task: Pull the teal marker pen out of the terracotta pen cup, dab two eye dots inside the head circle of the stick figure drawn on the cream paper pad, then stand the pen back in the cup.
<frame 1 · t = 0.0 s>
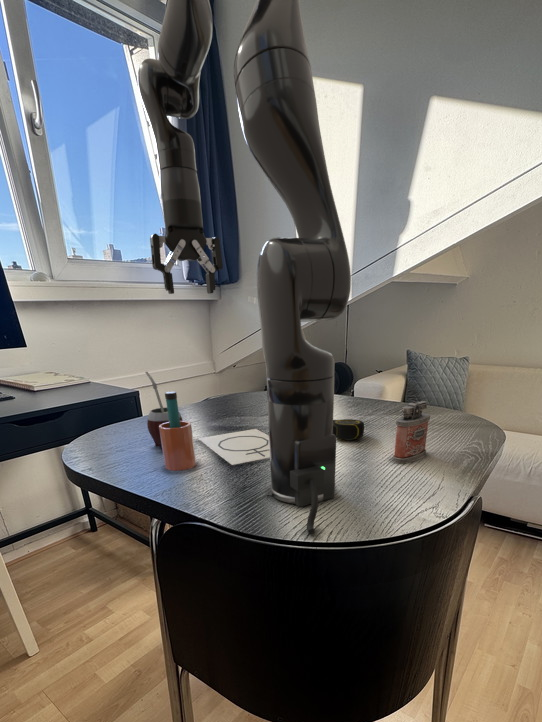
hand: (191, 293, 87), 29 cm above the table, tool pointing down, fingers open, 8 cm apart
pen cup: (181, 467, 74), on the table
mate gourd: (167, 448, 86), on the table
sketch pad: (245, 446, 85), on the table
tape measure: (345, 438, 89), on the table
lighter: (409, 458, 76), on the table
pen: (180, 465, 74), resting on pen cup
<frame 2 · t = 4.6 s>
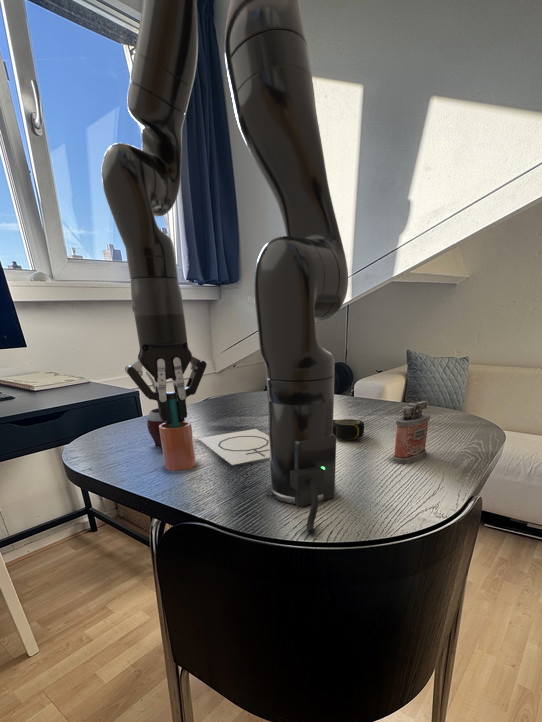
hand: (174, 421, 71), 9 cm above the table, tool pointing down, fingers closed on pen, 2 cm apart
pen: (180, 465, 74), point 1 cm above the table, touching gripper
everything else where it was.
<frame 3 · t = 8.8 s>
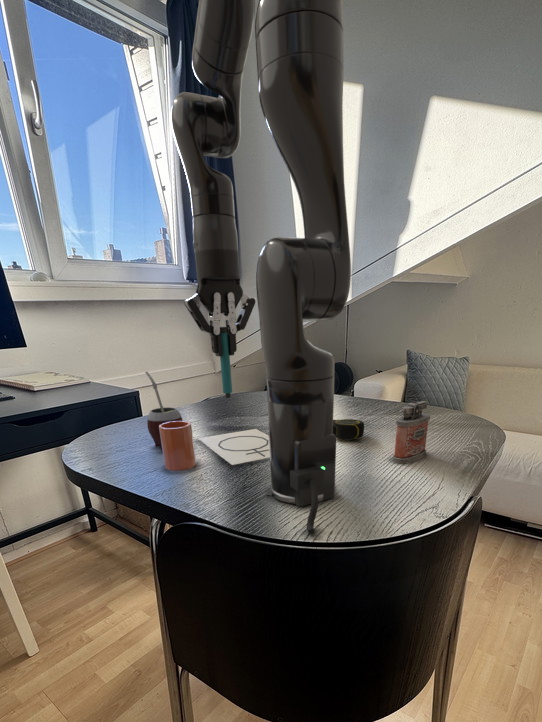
hand: (225, 355, 78), 18 cm above the table, tool pointing down, fingers closed on pen
pen: (228, 397, 81), point 10 cm above the table, touching gripper
everything else where it was.
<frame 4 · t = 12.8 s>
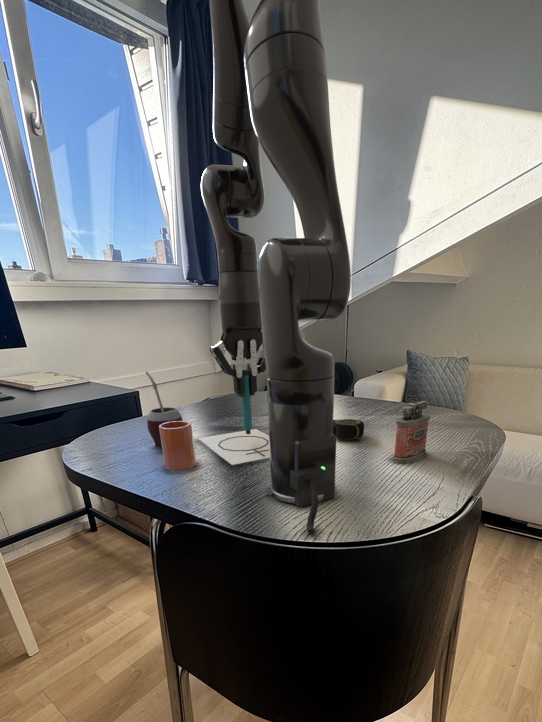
hand: (246, 395, 83), 10 cm above the table, tool pointing down, fingers closed on pen, 2 cm apart
pen: (248, 433, 86), point 2 cm above the table, touching gripper
everything else where it was.
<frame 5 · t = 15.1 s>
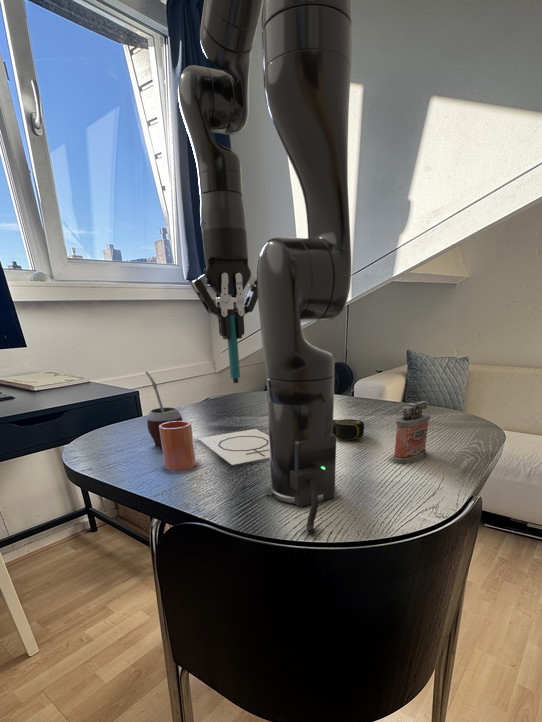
hand: (232, 338, 76), 21 cm above the table, tool pointing down, fingers closed on pen
pen: (235, 382, 80), point 13 cm above the table, touching gripper
everything else where it was.
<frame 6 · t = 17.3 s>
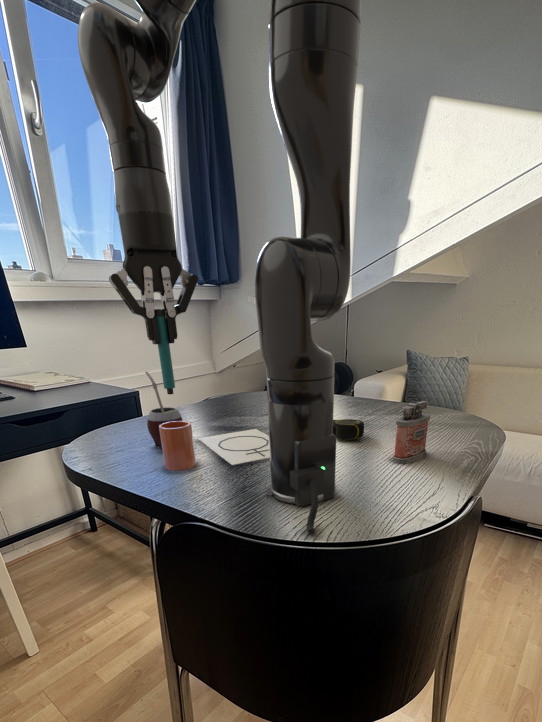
hand: (163, 343, 66), 21 cm above the table, tool pointing down, fingers closed on pen
pen: (170, 394, 69), point 13 cm above the table, touching gripper
everything else where it was.
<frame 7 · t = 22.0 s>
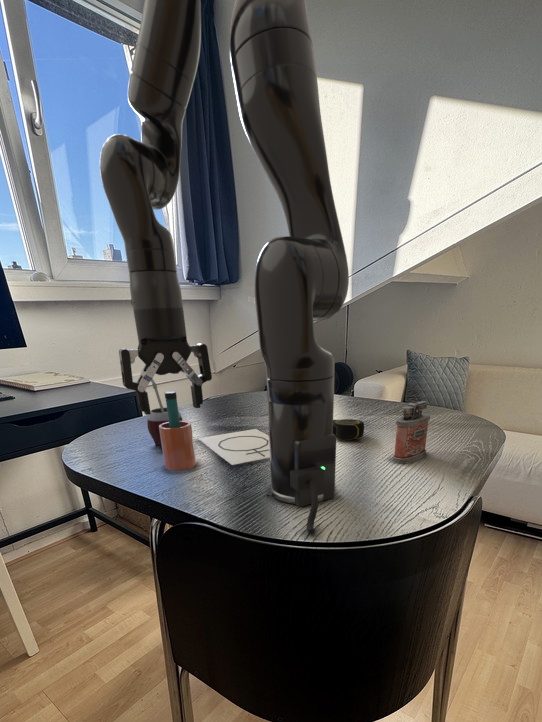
hand: (172, 410, 70), 10 cm above the table, tool pointing down, fingers open, 8 cm apart
pen: (180, 464, 74), resting on pen cup
everything else where it was.
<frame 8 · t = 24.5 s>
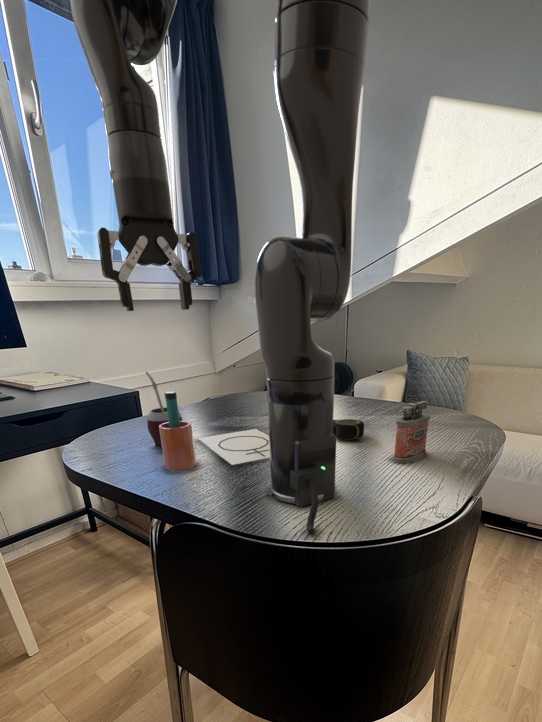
hand: (158, 310, 64), 26 cm above the table, tool pointing down, fingers open, 8 cm apart
nothing on the table moved.
at the end: pen 0.2 cm off-centre in the pen cup, point 0.5 cm above the pen cup's base; pen tilted 0°; the gripper is holding nothing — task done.
